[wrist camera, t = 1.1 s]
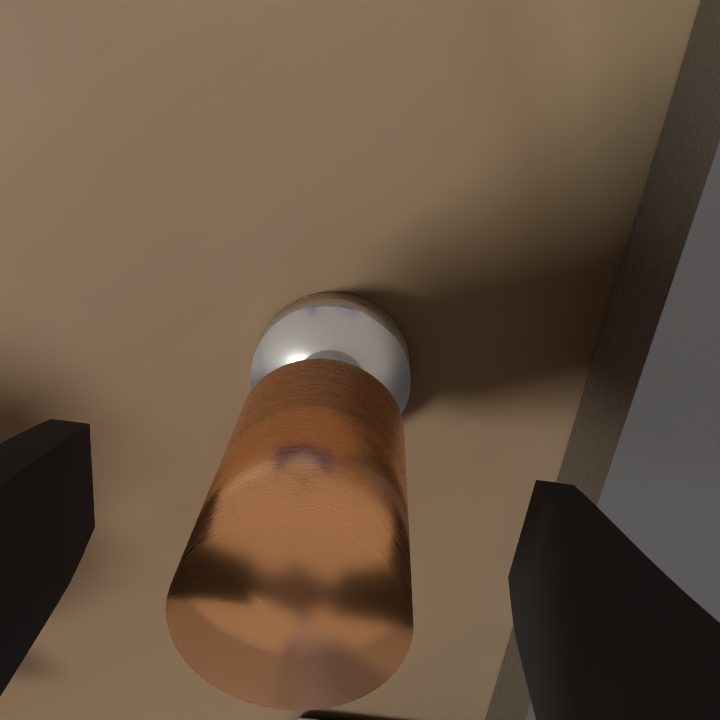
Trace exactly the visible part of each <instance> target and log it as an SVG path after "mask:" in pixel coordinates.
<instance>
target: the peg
mask: <svg viewBox="0 0 720 720" xmlns="http://www.w3.org/2000/svg"><path fill="white" fill-rule="evenodd" d="M251 387H252V391H251V392H250V394H249V395H248V397H247V399H246V401H245V403H244V406H243V408H242V411H241V413H240V415H239V418H238V420H237V423H236V425H235V428H234V430H233V433H232V435H231V438H230V440H229V443H228V445H227V447H226V450H225V452H224V455H223V457H222V460H221V462H220V465H219V467H218V470H217V472H216V475H215V477H214V480H213V482H212V484H211V487H210V489H209V492H208V494H207V497H206V499H205V502H204V504H203V507H202V509H201V512H200V514H199V516H198V519H197V521H196V524H195V526H194V529H193V531H192V534H191V536H190V539H189V541H188V544H187V546H186V548H185V551H184V553H183V556H182V558H181V561H180V563H179V566H178V568H177V571H176V573H175V576H174V578H173V581H172V583H171V585H170V589H169V592H168V596H167V604H166V617H167V624H168V628H169V632H170V635H171V637H172V640H173V642H174V644H175V646H176V648H177V649H178V651H179V653H180V654H181V656H182V657H183V658H184V660H185V661H186V662H187V663H188V665H189V666H190V667H191V668H192V669H193V670H194V671H195V672H196V673H197V674H199V675H200V676H201V677H202V678H203V679H205V680H206V681H207V682H209V683H210V684H211V685H213V686H215V687H216V688H218V689H220V690H221V691H223V692H225V693H227V694H229V695H231V696H234V697H236V698H238V699H241V700H244V701H246V702H249V703H253V704H256V705H260V706H264V707H270V708H276V709H284V710H315V709H324V708H329V707H334V706H339V705H342V704H345V703H348V702H351V701H354V700H356V699H358V698H361V697H363V696H365V695H367V694H368V693H370V692H372V691H374V690H375V689H377V688H378V687H379V686H381V685H382V684H383V683H385V682H386V681H387V680H388V679H389V678H390V677H391V676H392V675H393V674H394V673H395V672H396V671H397V669H398V668H399V666H400V665H401V664H402V662H403V661H404V659H405V657H406V655H407V653H408V651H409V647H410V644H411V641H412V635H413V609H412V588H411V566H410V545H409V524H408V503H407V482H406V460H405V439H404V424H403V419H402V413H403V412H404V410H405V407H406V405H407V402H408V399H409V395H410V387H411V376H410V362H409V353H408V348H407V344H406V341H405V339H404V336H403V334H402V332H401V330H400V329H399V327H398V326H397V324H396V323H395V322H394V320H393V319H392V318H391V317H390V316H389V315H388V314H387V313H386V312H385V311H383V310H382V309H381V308H380V307H378V306H376V305H375V304H373V303H372V302H370V301H368V300H366V299H363V298H361V297H358V296H355V295H351V294H346V293H339V292H323V293H317V294H311V295H308V296H305V297H302V298H300V299H298V300H296V301H294V302H292V303H290V304H289V305H287V306H286V307H284V308H283V309H282V310H281V311H280V312H278V313H277V314H276V316H275V317H274V318H273V319H272V320H271V321H270V323H269V325H268V326H267V328H266V329H265V332H264V334H263V336H262V338H261V341H260V343H259V345H258V347H257V350H256V352H255V354H254V358H253V361H252V366H251Z"/></svg>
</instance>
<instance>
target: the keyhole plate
mask: <svg viewBox="0 0 720 720" xmlns="http://www.w3.org/2000/svg"><path fill="white" fill-rule="evenodd" d="M557 483H564V484H572V485H574V486H576V487H577V488H578V489H579V490H580V491H581V492H582V493H583V494H584V495H585V496H587V497H588V498H589V499H590V500H591V501H592V502H593V503H594V504H595V505H596V506H597V507H598V508H599V509H600V510H601V511H602V512H603V513H604V514H605V515H606V516H607V517H608V518H609V519H610V520H611V521H612V522H613V523H614V524H615V525H616V526H617V527H618V528H619V529H620V530H621V531H622V532H623V533H624V534H625V535H626V536H627V537H628V538H629V539H630V540H631V541H632V542H633V543H634V544H635V545H636V546H637V547H638V548H639V549H640V550H641V551H642V552H643V553H644V554H645V555H646V556H647V557H648V558H649V559H650V560H651V561H652V562H653V563H654V564H655V565H656V566H657V567H658V568H660V569H661V570H662V571H663V572H664V573H665V574H666V575H667V576H668V577H669V578H670V579H671V580H672V581H673V582H674V583H676V584H677V585H678V586H679V587H680V588H681V589H682V590H683V591H684V592H685V593H686V594H687V595H689V596H690V597H691V598H692V599H693V600H694V601H695V602H697V603H698V604H699V605H700V606H701V607H702V608H703V609H705V610H706V611H707V612H708V613H709V614H710V615H711V616H713V617H714V618H715V619H716V620H717V621H718V622H720V0H701V3H700V6H699V9H698V13H697V16H696V19H695V23H694V26H693V29H692V33H691V36H690V39H689V43H688V46H687V49H686V53H685V56H684V59H683V63H682V66H681V69H680V73H679V76H678V79H677V83H676V86H675V89H674V93H673V96H672V99H671V103H670V106H669V109H668V113H667V116H666V119H665V123H664V126H663V129H662V133H661V136H660V139H659V143H658V146H657V149H656V153H655V156H654V159H653V163H652V166H651V169H650V173H649V176H648V179H647V183H646V186H645V189H644V193H643V196H642V199H641V203H640V206H639V209H638V213H637V216H636V219H635V223H634V226H633V229H632V233H631V236H630V239H629V243H628V246H627V249H626V253H625V256H624V259H623V263H622V266H621V269H620V273H619V276H618V279H617V283H616V286H615V289H614V293H613V296H612V299H611V303H610V306H609V309H608V313H607V316H606V319H605V323H604V326H603V329H602V333H601V336H600V339H599V343H598V346H597V349H596V353H595V356H594V359H593V363H592V366H591V369H590V373H589V376H588V379H587V383H586V386H585V389H584V393H583V396H582V399H581V403H580V406H579V409H578V413H577V416H576V419H575V423H574V426H573V429H572V433H571V436H570V439H569V443H568V446H567V449H566V453H565V456H564V459H563V463H562V466H561V469H560V473H559V476H558V479H557ZM486 720H536V718H535V714H534V710H533V706H532V702H531V698H530V695H529V691H528V687H527V683H526V679H525V675H524V671H523V666H522V662H521V658H520V654H519V650H518V646H517V642H516V637H515V631H514V626H513V630H512V633H511V636H510V640H509V643H508V646H507V650H506V653H505V656H504V660H503V663H502V666H501V670H500V673H499V676H498V680H497V683H496V686H495V690H494V693H493V696H492V700H491V703H490V706H489V710H488V713H487V716H486Z"/></svg>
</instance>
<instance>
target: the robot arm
mask: <svg viewBox="0 0 720 720" xmlns="http://www.w3.org/2000/svg"><path fill="white" fill-rule="evenodd" d="M94 528H95V519H94V500H93V481H92V463H91V444H90V425H89V424H86V423H78V422H70V421H62V420H54V419H50V420H48V421H46V422H43V423H41V424H39V425H37V426H34V427H32V428H30V429H28V430H26V431H24V432H22V433H20V434H18V435H16V436H14V437H12V438H10V439H8V440H7V441H5V442H3V443H1V444H0V696H1V694H2V693H3V691H4V690H5V688H6V686H7V685H8V683H9V682H10V680H11V678H12V677H13V675H14V673H15V672H16V670H17V669H18V667H19V665H20V664H21V662H22V660H23V659H24V657H25V656H26V654H27V652H28V651H29V649H30V648H31V646H32V644H33V643H34V641H35V640H36V638H37V636H38V635H39V633H40V631H41V630H42V628H43V627H44V625H45V623H46V622H47V620H48V618H49V617H50V615H51V613H52V612H53V610H54V608H55V607H56V605H57V604H58V602H59V600H60V599H61V597H62V595H63V594H64V592H65V590H66V589H67V587H68V585H69V583H70V582H71V579H72V577H73V575H74V573H75V571H76V569H77V567H78V564H79V562H80V560H81V558H82V556H83V553H84V551H85V549H86V546H87V544H88V542H89V539H90V537H91V535H92V532H93V530H94ZM508 579H509V588H510V598H511V607H512V615H513V623H514V631H515V637H516V642H517V646H518V650H519V654H520V658H521V662H522V666H523V671H524V675H525V679H526V683H527V687H528V691H529V695H530V698H531V702H532V706H533V710H534V714H535V718H536V720H720V622H718V621H717V620H716V619H715V618H714V617H713V616H711V615H710V614H709V613H708V612H707V611H706V610H705V609H703V608H702V607H701V606H700V605H699V604H698V603H697V602H695V601H694V600H693V599H692V598H691V597H690V596H689V595H687V594H686V593H685V592H684V591H683V590H682V589H681V588H680V587H679V586H678V585H677V584H676V583H674V582H673V581H672V580H671V579H670V578H669V577H668V576H667V575H666V574H665V573H664V572H663V571H662V570H661V569H660V568H658V567H657V566H656V565H655V564H654V563H653V562H652V561H651V560H650V559H649V558H648V557H647V556H646V555H645V554H644V553H643V552H642V551H641V550H640V549H639V548H638V547H637V546H636V545H635V544H634V543H633V542H632V541H631V540H630V539H629V538H628V537H627V536H626V535H625V534H624V533H623V532H622V531H621V530H620V529H619V528H618V527H617V526H616V525H615V524H614V523H613V522H612V521H611V520H610V519H609V518H608V517H607V516H606V515H605V514H604V513H603V512H602V511H601V510H600V509H599V508H598V507H597V506H596V505H595V504H594V503H593V502H592V501H591V500H590V499H589V498H588V497H587V496H585V495H584V494H583V493H582V492H581V491H580V490H579V489H578V488H577V487H576V486H574V485H572V484H564V483H556V482H548V481H540V480H536V482H535V486H534V489H533V493H532V496H531V500H530V503H529V507H528V510H527V514H526V517H525V521H524V524H523V528H522V531H521V535H520V538H519V542H518V545H517V549H516V552H515V556H514V559H513V563H512V566H511V570H510V573H509V577H508ZM298 720H317V719H309V718H301V719H298Z"/></svg>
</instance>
